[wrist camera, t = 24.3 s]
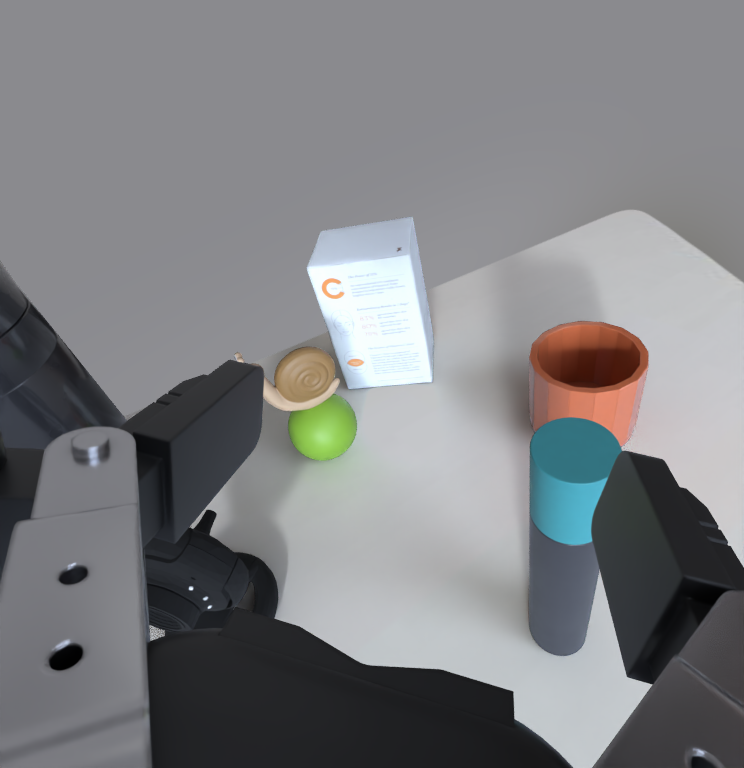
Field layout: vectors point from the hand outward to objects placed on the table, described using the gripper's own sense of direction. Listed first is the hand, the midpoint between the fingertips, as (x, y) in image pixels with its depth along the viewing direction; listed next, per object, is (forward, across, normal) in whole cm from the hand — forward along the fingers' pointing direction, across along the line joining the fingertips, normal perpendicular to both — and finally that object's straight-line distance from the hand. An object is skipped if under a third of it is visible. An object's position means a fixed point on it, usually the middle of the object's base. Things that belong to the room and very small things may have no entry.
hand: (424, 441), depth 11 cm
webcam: (+12, +10, +23) cm, 28 cm away
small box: (+34, +5, +13) cm, 37 cm away
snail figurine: (+24, +8, +18) cm, 31 cm away
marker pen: (+12, -9, +17) cm, 23 cm away
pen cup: (+27, -11, +11) cm, 31 cm away
